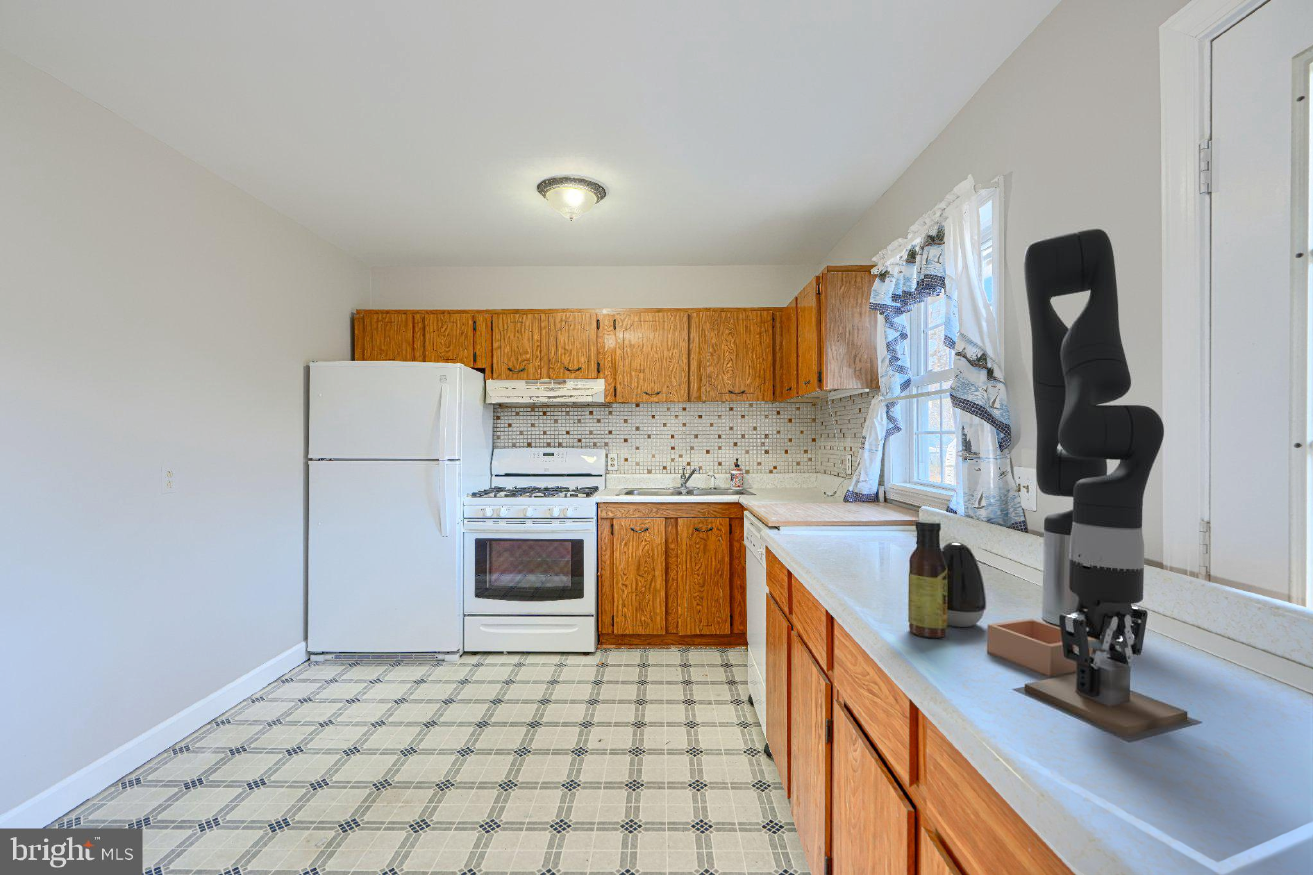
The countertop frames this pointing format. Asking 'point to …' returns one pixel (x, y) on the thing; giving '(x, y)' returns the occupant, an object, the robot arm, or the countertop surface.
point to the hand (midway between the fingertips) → (1102, 690)
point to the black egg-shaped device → (963, 586)
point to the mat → (1127, 738)
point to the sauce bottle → (927, 583)
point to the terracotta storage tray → (1031, 646)
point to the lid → (1109, 700)
